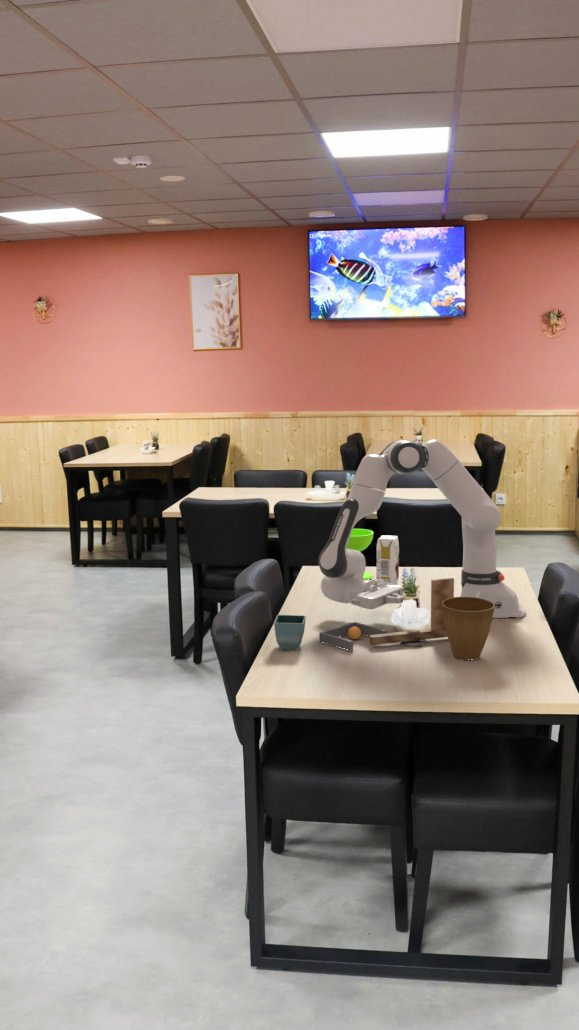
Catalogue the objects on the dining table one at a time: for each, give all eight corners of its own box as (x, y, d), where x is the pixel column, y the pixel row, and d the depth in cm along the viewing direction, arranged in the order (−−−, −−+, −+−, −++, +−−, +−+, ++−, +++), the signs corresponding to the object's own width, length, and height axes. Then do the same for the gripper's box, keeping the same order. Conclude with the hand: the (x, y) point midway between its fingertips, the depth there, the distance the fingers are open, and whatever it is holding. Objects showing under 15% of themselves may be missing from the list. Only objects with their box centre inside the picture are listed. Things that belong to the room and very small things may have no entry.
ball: (360, 638, 288) (360, 625, 288) (361, 640, 284) (361, 627, 284) (347, 638, 288) (347, 625, 288) (348, 640, 284) (348, 627, 284)
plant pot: (430, 655, 270) (430, 602, 267) (464, 645, 279) (466, 593, 276) (468, 669, 259) (470, 613, 256) (504, 658, 267) (505, 604, 265)
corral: (386, 639, 286) (386, 630, 285) (350, 651, 275) (350, 641, 274) (354, 631, 295) (354, 621, 294) (319, 642, 284) (319, 632, 284)
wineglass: (379, 580, 360) (379, 534, 357) (340, 583, 355) (340, 537, 352) (364, 571, 375) (364, 527, 372) (327, 574, 371) (327, 530, 367)
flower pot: (306, 643, 283) (305, 615, 282) (303, 652, 274) (303, 623, 273) (277, 642, 284) (277, 614, 282) (274, 652, 275) (273, 622, 274)
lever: (449, 633, 288) (450, 576, 285) (455, 637, 284) (456, 579, 281) (368, 642, 280) (368, 584, 277) (373, 646, 276) (373, 587, 273)
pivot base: (408, 637, 288) (408, 635, 288) (431, 641, 283) (431, 639, 283) (395, 643, 282) (395, 641, 282) (418, 648, 277) (418, 646, 277)
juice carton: (375, 588, 348) (375, 538, 344) (379, 583, 356) (380, 534, 352) (395, 589, 345) (395, 539, 342) (399, 584, 353) (399, 535, 350)
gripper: (347, 590, 294) (384, 597, 285) (382, 578, 310) (418, 584, 301) (347, 609, 295) (384, 617, 286) (381, 596, 311) (418, 603, 302)
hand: (402, 600), depth 294 cm, fingers closed
